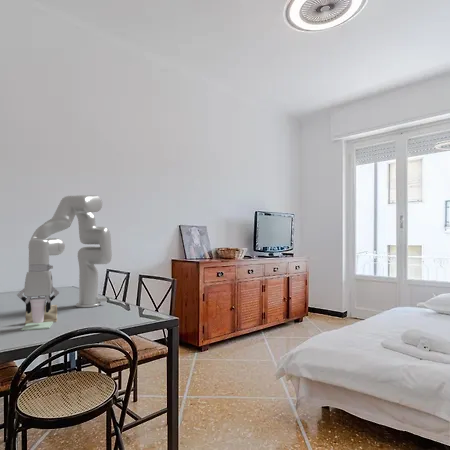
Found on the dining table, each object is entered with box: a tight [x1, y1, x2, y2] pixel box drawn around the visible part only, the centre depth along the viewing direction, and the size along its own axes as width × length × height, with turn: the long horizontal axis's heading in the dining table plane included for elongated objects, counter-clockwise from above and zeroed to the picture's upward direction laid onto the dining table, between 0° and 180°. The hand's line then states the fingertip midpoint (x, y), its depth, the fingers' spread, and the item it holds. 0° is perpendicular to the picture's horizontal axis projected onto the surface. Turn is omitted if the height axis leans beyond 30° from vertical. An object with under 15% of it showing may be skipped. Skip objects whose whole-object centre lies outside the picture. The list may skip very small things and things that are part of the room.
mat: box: [20, 322, 54, 332], centre depth 146 cm, size 10×10×1 cm
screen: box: [24, 304, 58, 325], centre depth 154 cm, size 12×3×7 cm, turn 108°
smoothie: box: [29, 296, 47, 323], centre depth 146 cm, size 6×6×14 cm
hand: (38, 311), depth 146 cm, fingers closed on smoothie, 6 cm apart
